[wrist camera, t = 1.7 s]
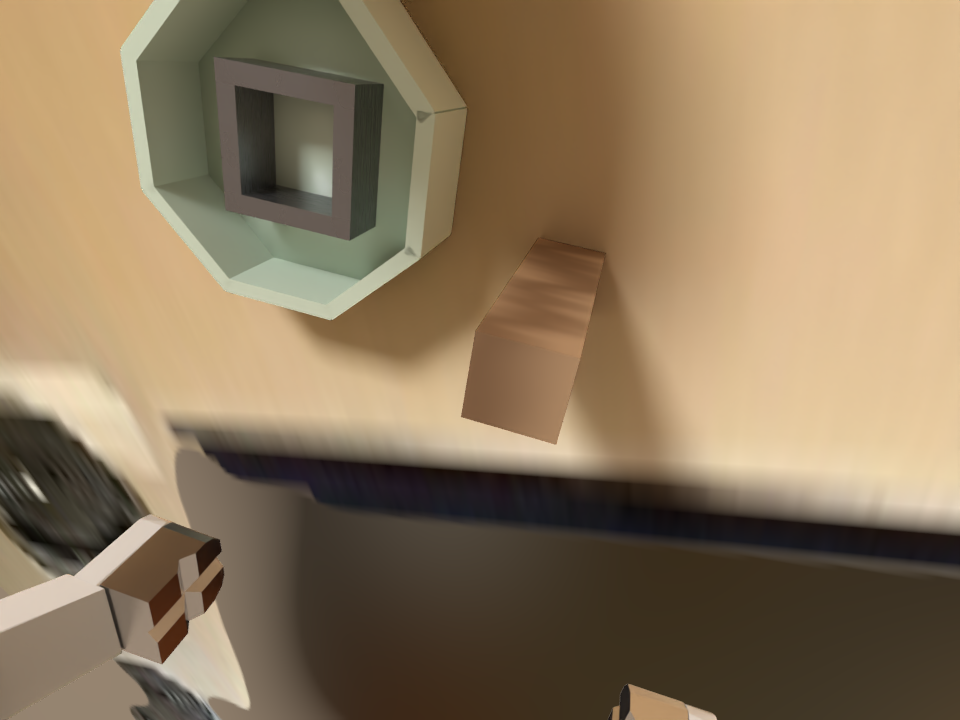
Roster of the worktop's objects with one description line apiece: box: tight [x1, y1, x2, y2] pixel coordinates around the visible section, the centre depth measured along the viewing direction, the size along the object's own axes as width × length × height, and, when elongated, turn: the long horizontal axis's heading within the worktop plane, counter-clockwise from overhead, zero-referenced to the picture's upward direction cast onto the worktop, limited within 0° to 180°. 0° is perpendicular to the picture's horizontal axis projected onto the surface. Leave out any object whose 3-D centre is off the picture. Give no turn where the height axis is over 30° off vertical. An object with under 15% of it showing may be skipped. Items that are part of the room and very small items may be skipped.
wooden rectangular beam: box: [461, 238, 606, 444], centre depth 24 cm, size 4×4×12 cm
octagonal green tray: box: [120, 0, 467, 320], centre depth 27 cm, size 15×15×5 cm
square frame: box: [214, 57, 384, 241], centre depth 27 cm, size 7×7×3 cm
